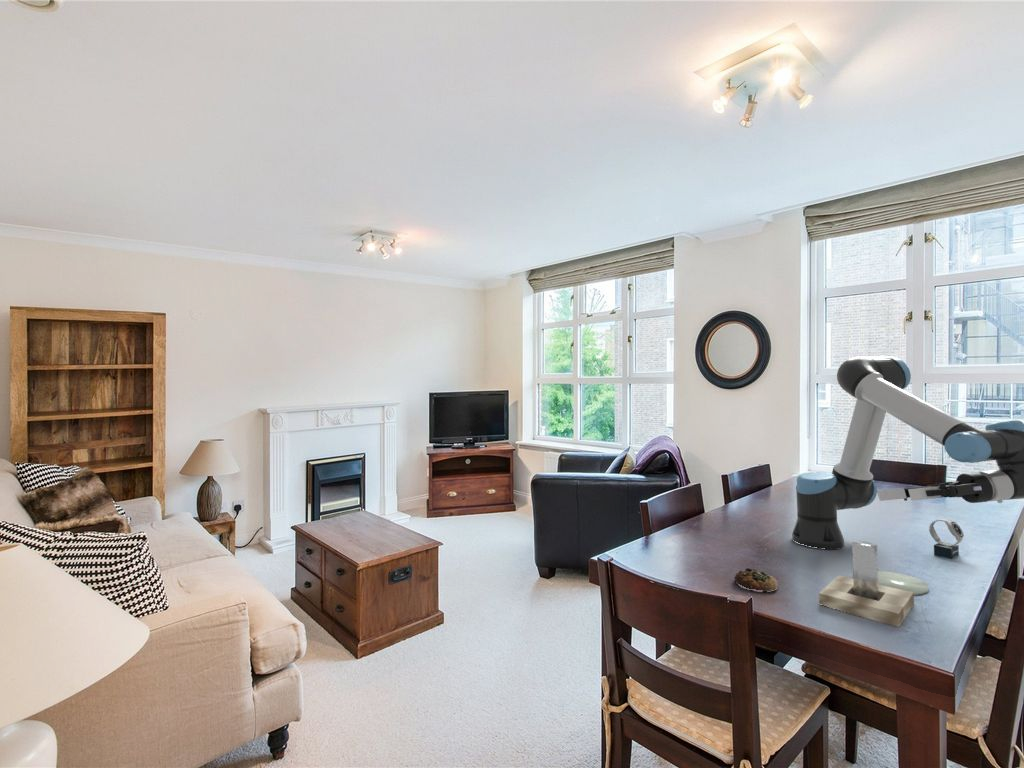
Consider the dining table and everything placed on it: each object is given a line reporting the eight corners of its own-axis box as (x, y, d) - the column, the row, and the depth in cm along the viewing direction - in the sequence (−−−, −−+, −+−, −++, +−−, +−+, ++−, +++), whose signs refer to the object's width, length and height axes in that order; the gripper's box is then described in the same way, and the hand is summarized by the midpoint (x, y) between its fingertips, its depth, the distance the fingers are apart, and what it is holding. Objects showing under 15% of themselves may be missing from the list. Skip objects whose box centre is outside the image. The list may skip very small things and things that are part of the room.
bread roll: (727, 585, 138) (728, 567, 139) (743, 579, 146) (744, 562, 146) (770, 599, 130) (771, 579, 131) (784, 591, 138) (785, 573, 138)
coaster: (857, 584, 137) (857, 581, 137) (871, 570, 146) (871, 567, 146) (923, 599, 126) (923, 596, 126) (933, 583, 136) (933, 580, 136)
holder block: (819, 605, 125) (818, 593, 125) (839, 586, 136) (838, 575, 136) (899, 627, 113) (898, 613, 113) (913, 604, 124) (913, 592, 124)
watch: (959, 560, 152) (958, 524, 152) (927, 553, 159) (926, 518, 159) (967, 556, 154) (965, 521, 154) (934, 549, 161) (933, 515, 161)
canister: (851, 605, 125) (849, 544, 125) (857, 598, 128) (855, 540, 128) (875, 611, 121) (874, 549, 121) (881, 604, 124) (879, 544, 124)
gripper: (1029, 501, 115) (930, 510, 118) (952, 501, 140) (871, 509, 142) (1018, 468, 117) (921, 478, 120) (944, 474, 141) (864, 482, 144)
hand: (893, 495), depth 131 cm, fingers open, 13 cm apart
